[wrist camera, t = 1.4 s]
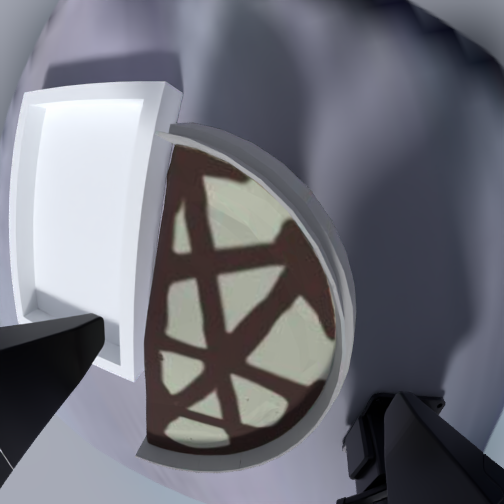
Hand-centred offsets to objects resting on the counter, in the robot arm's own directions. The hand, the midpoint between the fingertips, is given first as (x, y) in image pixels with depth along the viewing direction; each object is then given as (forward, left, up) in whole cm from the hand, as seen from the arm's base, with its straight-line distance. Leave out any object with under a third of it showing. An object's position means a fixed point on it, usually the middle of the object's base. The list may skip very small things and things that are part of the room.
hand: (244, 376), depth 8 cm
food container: (0, 0, -10) cm, 10 cm away
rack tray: (+13, 0, -9) cm, 16 cm away
